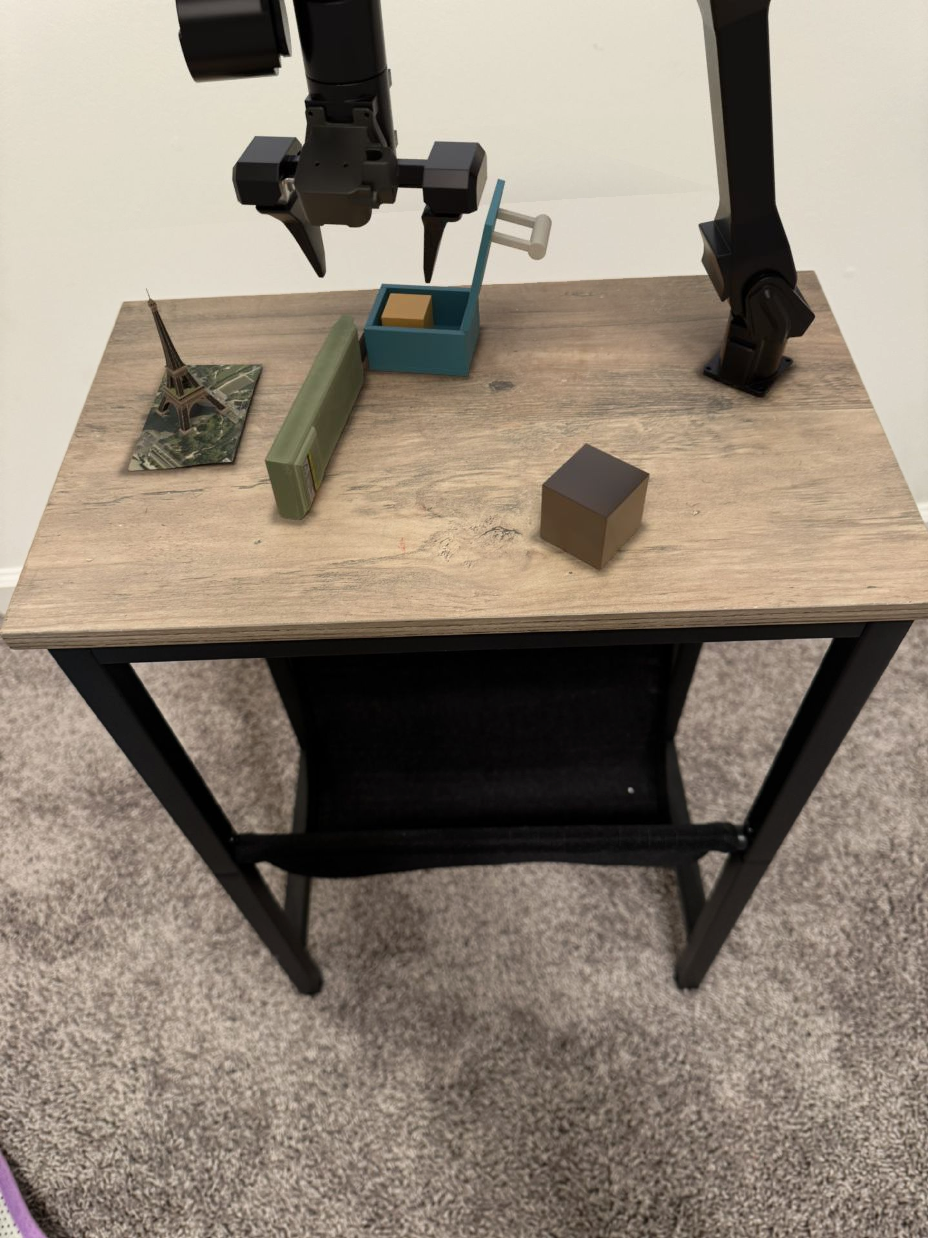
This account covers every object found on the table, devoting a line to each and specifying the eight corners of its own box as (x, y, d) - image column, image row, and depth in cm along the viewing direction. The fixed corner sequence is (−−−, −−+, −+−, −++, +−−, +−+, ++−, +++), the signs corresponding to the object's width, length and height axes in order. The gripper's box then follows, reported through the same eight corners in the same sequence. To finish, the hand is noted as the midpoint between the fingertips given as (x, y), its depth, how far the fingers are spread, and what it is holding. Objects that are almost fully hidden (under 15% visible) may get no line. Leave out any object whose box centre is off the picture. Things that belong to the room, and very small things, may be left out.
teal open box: (369, 370, 83) (363, 328, 80) (387, 323, 88) (381, 283, 84) (467, 376, 82) (465, 334, 78) (479, 329, 87) (478, 287, 83)
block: (395, 329, 86) (390, 292, 83) (434, 332, 86) (431, 294, 82) (386, 354, 84) (381, 316, 80) (426, 356, 83) (423, 319, 80)
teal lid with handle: (484, 223, 69) (550, 241, 70) (497, 178, 74) (559, 195, 74) (461, 330, 78) (520, 345, 78) (474, 283, 83) (529, 298, 83)
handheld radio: (272, 516, 71) (353, 344, 86) (309, 522, 71) (384, 348, 86) (256, 458, 66) (345, 285, 81) (295, 464, 66) (378, 289, 80)
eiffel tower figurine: (236, 468, 75) (191, 341, 65) (127, 470, 76) (64, 344, 65) (263, 367, 84) (227, 241, 74) (165, 370, 85) (116, 244, 74)
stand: (580, 496, 71) (585, 442, 66) (640, 526, 69) (650, 473, 64) (539, 537, 69) (541, 484, 64) (600, 570, 66) (607, 518, 61)
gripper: (176, 114, 54) (239, 327, 66) (459, 122, 51) (468, 341, 64) (233, 48, 60) (280, 253, 73) (486, 52, 58) (490, 263, 70)
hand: (375, 277), depth 70 cm, fingers open, 9 cm apart
